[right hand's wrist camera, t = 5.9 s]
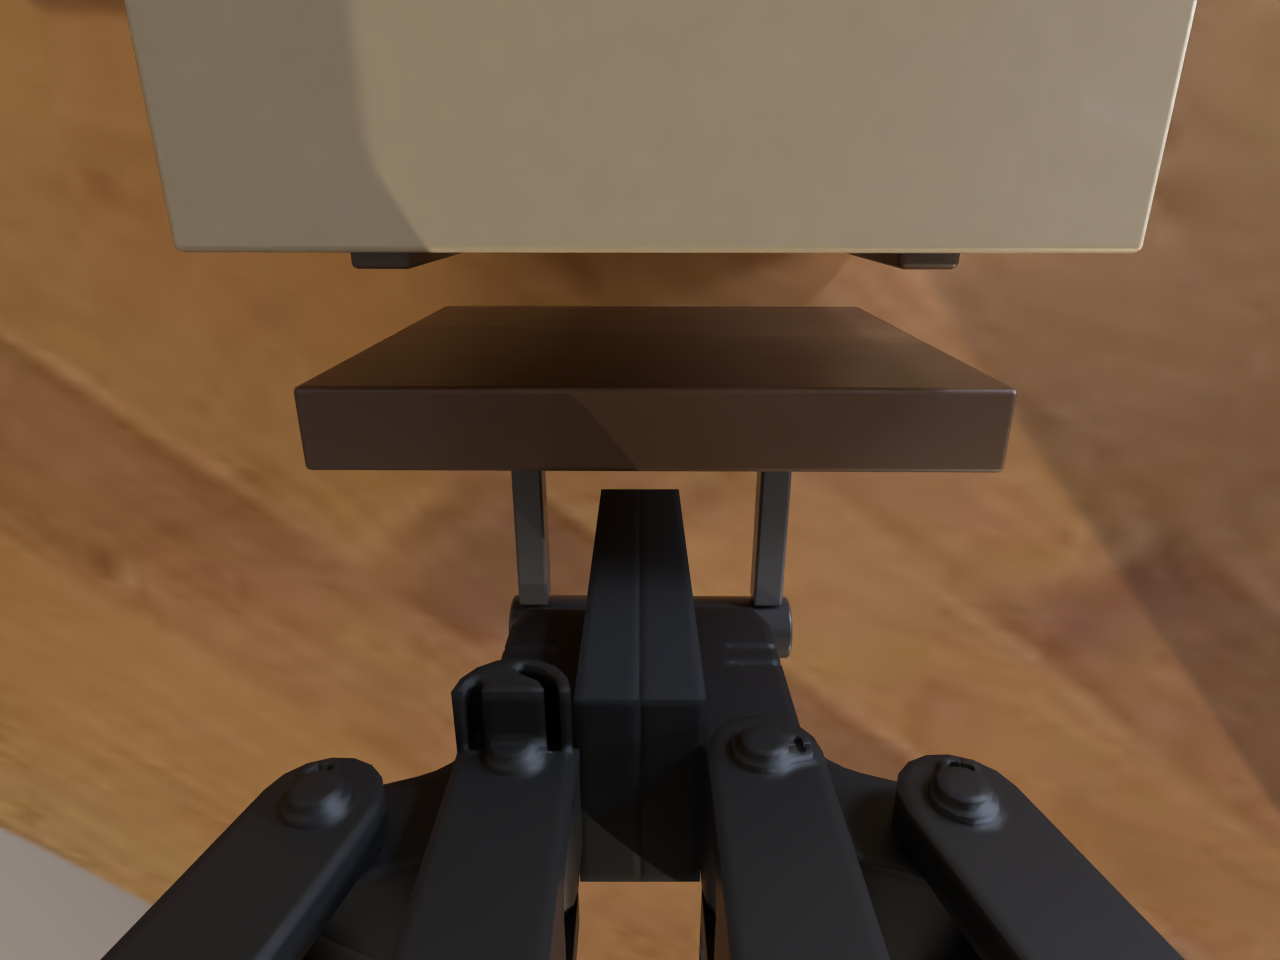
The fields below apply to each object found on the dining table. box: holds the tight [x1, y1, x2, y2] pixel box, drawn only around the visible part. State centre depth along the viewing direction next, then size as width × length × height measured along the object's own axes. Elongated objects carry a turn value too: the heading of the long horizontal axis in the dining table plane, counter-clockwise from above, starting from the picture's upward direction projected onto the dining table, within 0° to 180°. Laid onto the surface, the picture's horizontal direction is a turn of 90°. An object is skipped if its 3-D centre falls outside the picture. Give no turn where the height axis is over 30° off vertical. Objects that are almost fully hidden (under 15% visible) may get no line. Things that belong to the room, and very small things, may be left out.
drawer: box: [294, 252, 1016, 658], centre depth 12 cm, size 23×10×8 cm, turn 0°
